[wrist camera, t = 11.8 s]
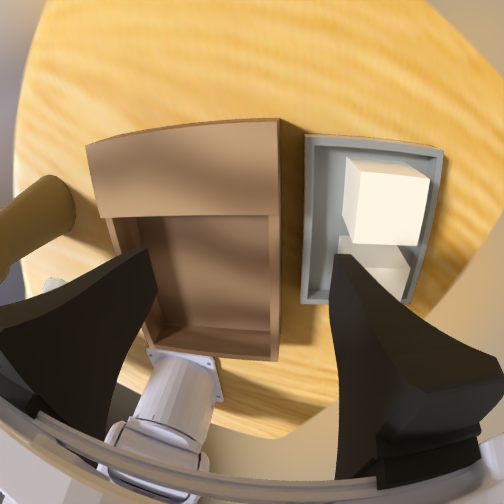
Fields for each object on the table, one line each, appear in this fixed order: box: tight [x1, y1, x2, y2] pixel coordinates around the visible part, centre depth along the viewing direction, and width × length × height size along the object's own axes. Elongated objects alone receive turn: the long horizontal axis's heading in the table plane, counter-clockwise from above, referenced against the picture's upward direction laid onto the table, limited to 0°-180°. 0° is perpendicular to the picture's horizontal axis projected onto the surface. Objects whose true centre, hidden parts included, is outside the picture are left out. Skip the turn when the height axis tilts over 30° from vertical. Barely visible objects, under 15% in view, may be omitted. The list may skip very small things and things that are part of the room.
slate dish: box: [300, 134, 444, 305], centre depth 18 cm, size 12×9×2 cm
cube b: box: [342, 156, 430, 246], centre depth 15 cm, size 4×4×4 cm
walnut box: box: [85, 118, 282, 362], centre depth 20 cm, size 18×12×4 cm, turn 3°
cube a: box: [337, 236, 410, 302], centre depth 18 cm, size 4×4×4 cm
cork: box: [0, 175, 76, 284], centre depth 17 cm, size 6×6×11 cm
